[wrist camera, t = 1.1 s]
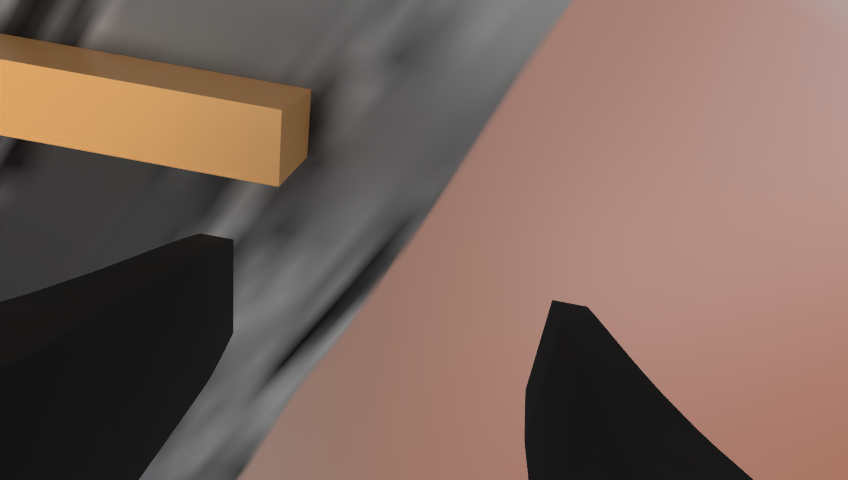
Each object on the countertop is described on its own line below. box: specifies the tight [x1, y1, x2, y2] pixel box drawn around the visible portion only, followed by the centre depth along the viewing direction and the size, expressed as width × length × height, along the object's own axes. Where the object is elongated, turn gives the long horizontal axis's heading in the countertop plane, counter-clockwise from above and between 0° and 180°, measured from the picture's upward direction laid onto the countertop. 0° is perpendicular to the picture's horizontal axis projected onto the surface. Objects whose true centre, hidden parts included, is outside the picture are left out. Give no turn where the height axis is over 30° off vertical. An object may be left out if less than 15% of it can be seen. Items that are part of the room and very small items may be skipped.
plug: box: [0, 34, 311, 187], centre depth 18 cm, size 4×17×4 cm, turn 82°
